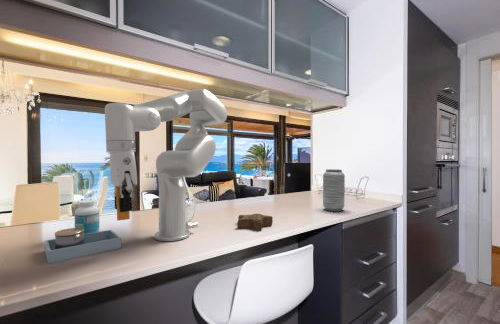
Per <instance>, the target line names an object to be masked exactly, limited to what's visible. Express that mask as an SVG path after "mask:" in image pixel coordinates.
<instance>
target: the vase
mask: <svg viewBox="0 0 500 324" xmlns="http://www.w3.org/2000/svg"><path fill="white" fill-rule="evenodd" d="M345 177H346V176H345V174H344V172H343V170H342V169H339V168H337V169H335V168H333V169H332V168H331V169H330V168H329V169H327V168H326V169H325V171H324V173H323V175H322V206H323V208H324V209H325V210H326V211H327V210H328V212H335V211H337V212H342V211H343V209H344V208H345V199H346V198H345V196H346V194H345V191H346V190H345V188H346V186H345V185H346V183H345V182H346V181H345V180H346V179H345ZM341 210H342V211H341Z"/></svg>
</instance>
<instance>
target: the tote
mask: <svg viewBox="0 0 500 324" xmlns="http://www.w3.org/2000/svg"><path fill="white" fill-rule="evenodd" d="M121 248H122V237H121V236H120V235H119V234H117V233H116V232H115V231H113V230H112V229H106V230H101V231H100V230H99V232H94V233H88V234H84V244H82V245H76V246H71V247H66V248H61V249H55V238H53V239H52V238H51V239H47V240H45V241H44V252H45V257H46V261H47V264H53V263H57V262H61V261H62V262H63V261H68V260H71V259H76V258H81V257H85V256H90V255H95V254H101V253H104V252H109V251H113V250H118V249H121Z"/></svg>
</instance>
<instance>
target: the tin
mask: <svg viewBox="0 0 500 324" xmlns="http://www.w3.org/2000/svg"><path fill="white" fill-rule="evenodd" d="M54 239H55V249H61V248H66V247H71V246H76V245H82V244H84V228H75V227H69V228H65V229H60V230H57V231H55V232H54Z"/></svg>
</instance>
